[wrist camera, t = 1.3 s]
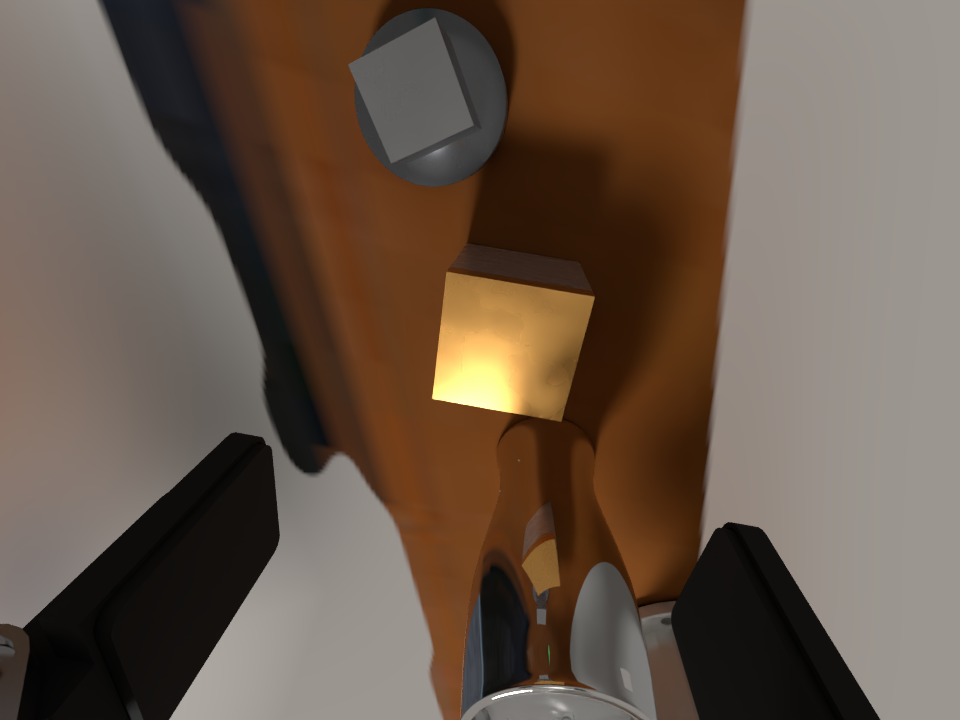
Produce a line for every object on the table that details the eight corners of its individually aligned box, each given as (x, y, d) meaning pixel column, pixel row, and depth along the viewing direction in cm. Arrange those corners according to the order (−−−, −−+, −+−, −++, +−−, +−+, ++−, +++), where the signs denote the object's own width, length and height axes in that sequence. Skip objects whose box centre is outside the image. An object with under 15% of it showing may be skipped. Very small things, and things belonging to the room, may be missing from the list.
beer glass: (613, 418, 26) (705, 710, 12) (587, 506, 29) (636, 816, 15) (497, 400, 26) (462, 665, 13) (483, 488, 29) (443, 778, 16)
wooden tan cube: (579, 261, 22) (595, 296, 17) (554, 363, 25) (561, 421, 19) (467, 243, 22) (446, 271, 17) (453, 345, 25) (432, 398, 19)
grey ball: (527, 151, 20) (527, 150, 16) (406, 204, 22) (374, 217, 17) (477, -8, 18) (459, -62, 13) (345, 63, 20) (290, 36, 15)
